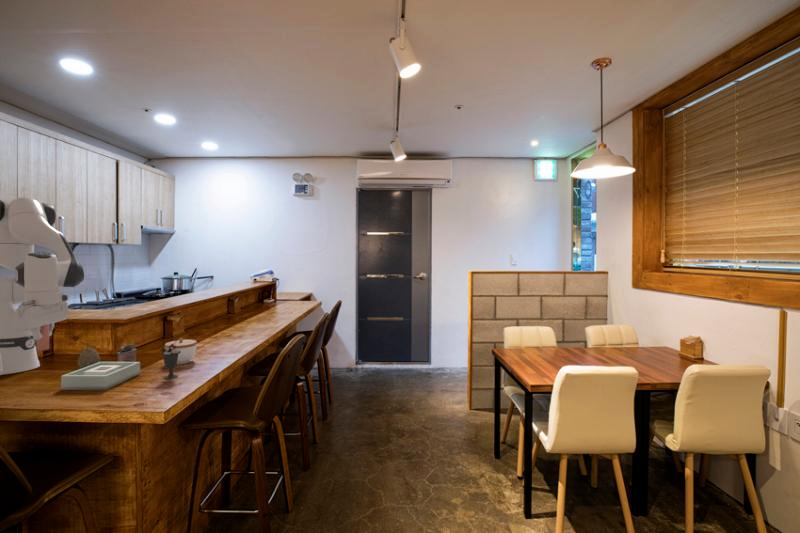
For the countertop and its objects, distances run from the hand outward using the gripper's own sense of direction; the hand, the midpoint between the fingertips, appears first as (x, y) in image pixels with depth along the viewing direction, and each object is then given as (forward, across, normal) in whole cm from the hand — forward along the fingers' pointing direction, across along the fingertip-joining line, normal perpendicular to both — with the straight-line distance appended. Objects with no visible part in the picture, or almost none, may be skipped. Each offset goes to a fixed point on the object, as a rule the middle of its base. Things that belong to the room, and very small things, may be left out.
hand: (42, 337), depth 128 cm
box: (+20, +10, -14) cm, 26 cm away
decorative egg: (+20, +26, 0) cm, 33 cm away
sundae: (+20, +10, -37) cm, 43 cm away
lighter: (+20, +27, -14) cm, 36 cm away
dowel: (+4, 0, 0) cm, 4 cm away
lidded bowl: (+20, +32, -33) cm, 50 cm away
